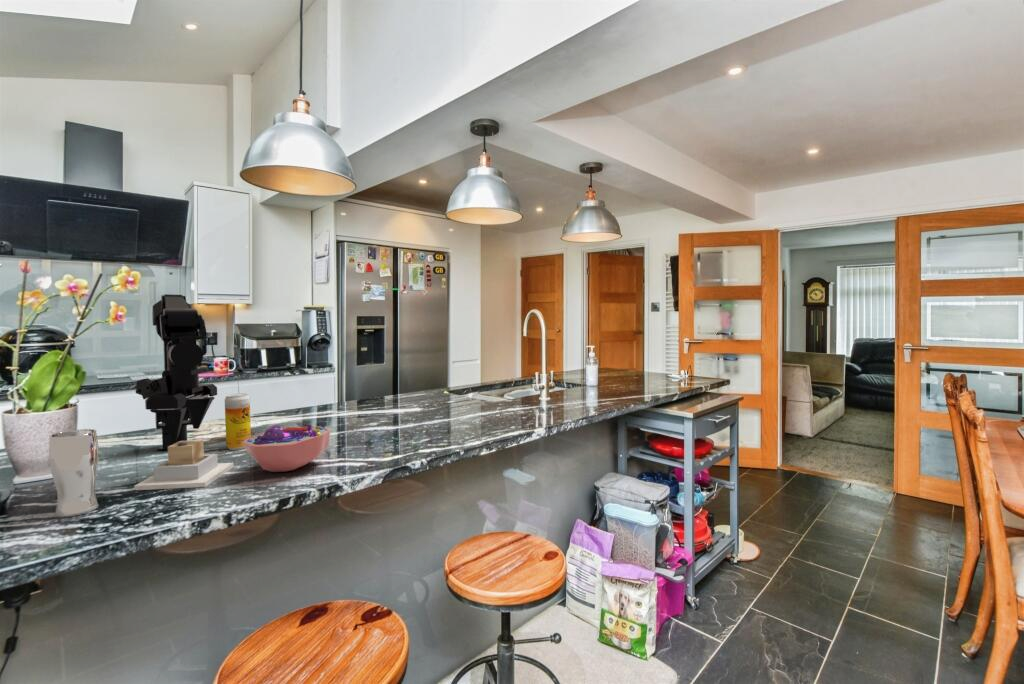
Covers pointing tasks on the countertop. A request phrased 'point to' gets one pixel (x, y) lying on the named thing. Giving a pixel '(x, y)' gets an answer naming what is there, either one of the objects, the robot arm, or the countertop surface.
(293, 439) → the cell model
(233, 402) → the beer can
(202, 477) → the socket plate
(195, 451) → the tan block
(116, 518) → the countertop surface
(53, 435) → the beer glass
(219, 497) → the countertop surface
